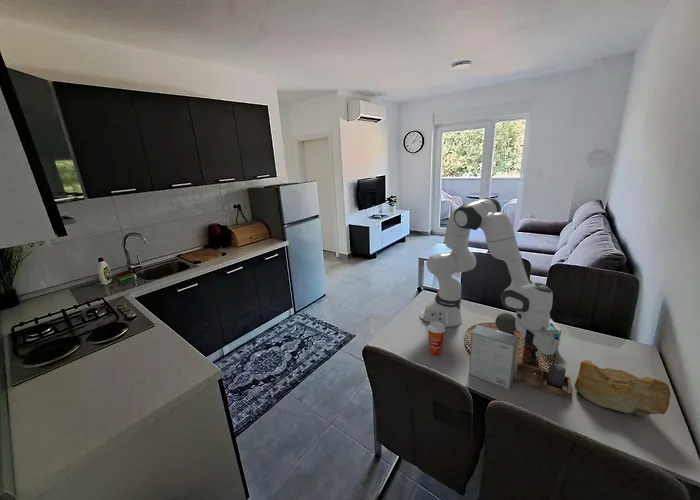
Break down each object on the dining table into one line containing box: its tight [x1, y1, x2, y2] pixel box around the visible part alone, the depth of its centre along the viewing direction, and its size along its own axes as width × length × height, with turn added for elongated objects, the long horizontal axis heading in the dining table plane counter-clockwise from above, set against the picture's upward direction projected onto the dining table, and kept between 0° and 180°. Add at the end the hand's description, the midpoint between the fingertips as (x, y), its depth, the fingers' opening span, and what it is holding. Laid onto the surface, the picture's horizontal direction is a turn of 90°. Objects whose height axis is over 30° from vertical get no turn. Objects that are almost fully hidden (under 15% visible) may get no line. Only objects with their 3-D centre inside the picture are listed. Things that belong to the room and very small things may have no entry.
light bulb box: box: [547, 318, 562, 352], centre depth 136 cm, size 11×7×11 cm, turn 168°
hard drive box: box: [468, 324, 519, 390], centre depth 117 cm, size 16×8×20 cm, turn 50°
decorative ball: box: [494, 312, 517, 334], centre depth 147 cm, size 10×10×10 cm
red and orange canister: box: [426, 322, 446, 357], centre depth 134 cm, size 8×8×14 cm
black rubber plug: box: [547, 363, 566, 389], centre depth 111 cm, size 5×5×8 cm
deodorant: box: [521, 329, 540, 367], centre depth 124 cm, size 6×6×15 cm
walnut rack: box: [513, 361, 572, 399], centre depth 114 cm, size 18×9×3 cm, turn 56°
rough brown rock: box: [574, 359, 672, 418], centre depth 103 cm, size 23×17×15 cm
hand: (531, 350), depth 124 cm, fingers closed on deodorant, 6 cm apart
